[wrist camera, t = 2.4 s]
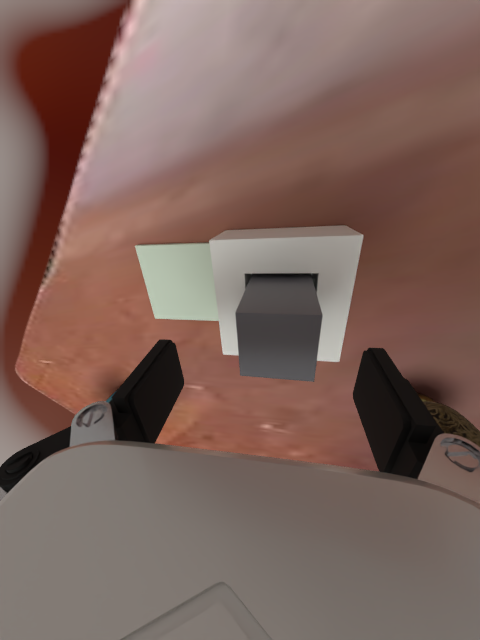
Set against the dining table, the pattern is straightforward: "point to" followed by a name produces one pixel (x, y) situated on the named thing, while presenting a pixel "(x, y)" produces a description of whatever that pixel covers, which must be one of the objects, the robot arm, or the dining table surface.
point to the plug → (279, 326)
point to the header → (288, 257)
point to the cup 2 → (451, 420)
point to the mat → (179, 280)
